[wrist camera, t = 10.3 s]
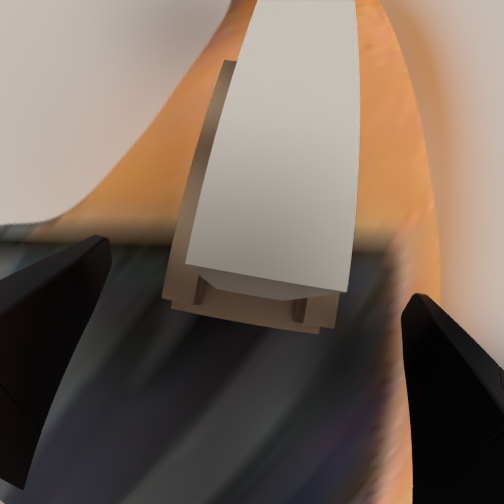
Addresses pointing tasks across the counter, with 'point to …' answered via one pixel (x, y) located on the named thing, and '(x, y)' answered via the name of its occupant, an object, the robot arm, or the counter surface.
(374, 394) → the counter surface
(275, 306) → the flanged channel block
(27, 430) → the robot arm
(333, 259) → the clay slab
